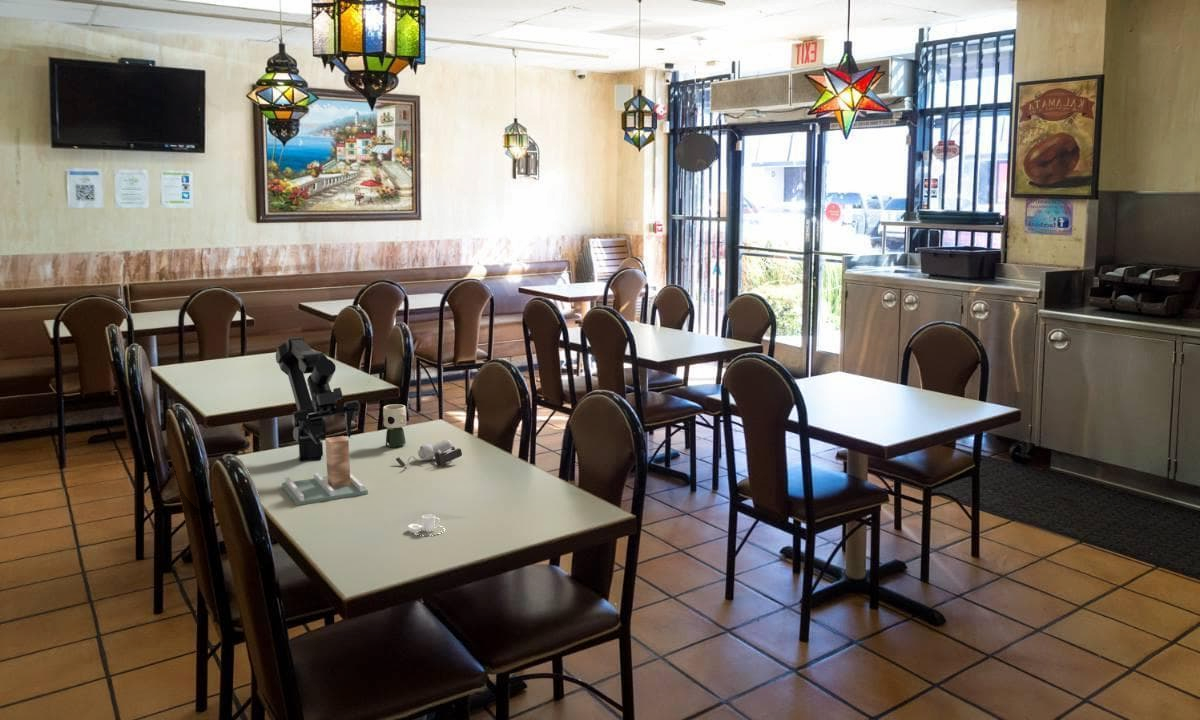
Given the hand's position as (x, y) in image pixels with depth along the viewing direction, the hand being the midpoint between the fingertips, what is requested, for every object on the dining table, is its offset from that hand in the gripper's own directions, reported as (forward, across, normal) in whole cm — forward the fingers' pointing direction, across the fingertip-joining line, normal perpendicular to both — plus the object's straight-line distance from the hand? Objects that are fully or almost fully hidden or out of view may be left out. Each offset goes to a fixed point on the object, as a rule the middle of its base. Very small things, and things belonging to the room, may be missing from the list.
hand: (333, 440), depth 271 cm
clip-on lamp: (+10, +27, +10) cm, 31 cm away
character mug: (-5, +24, +28) cm, 38 cm away
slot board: (+14, -6, -1) cm, 16 cm away
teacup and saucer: (+40, +9, -31) cm, 52 cm away
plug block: (+14, -2, -1) cm, 14 cm away
